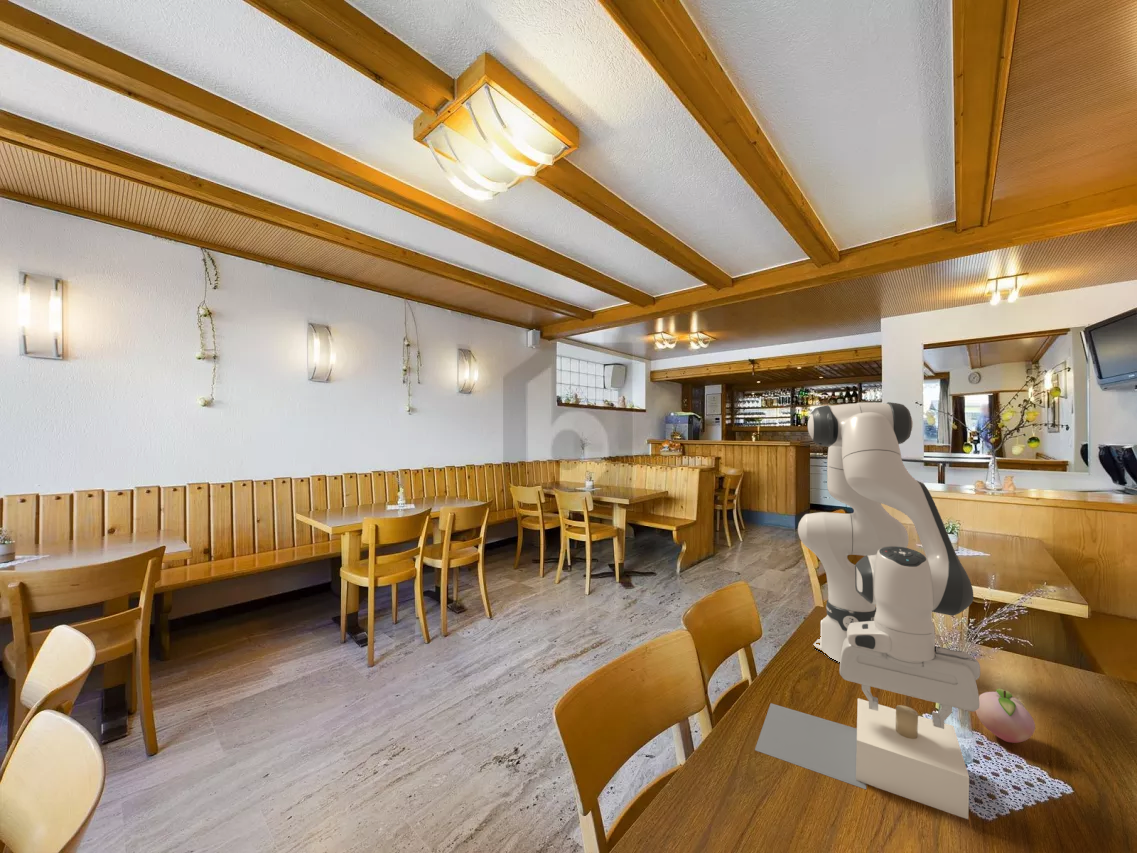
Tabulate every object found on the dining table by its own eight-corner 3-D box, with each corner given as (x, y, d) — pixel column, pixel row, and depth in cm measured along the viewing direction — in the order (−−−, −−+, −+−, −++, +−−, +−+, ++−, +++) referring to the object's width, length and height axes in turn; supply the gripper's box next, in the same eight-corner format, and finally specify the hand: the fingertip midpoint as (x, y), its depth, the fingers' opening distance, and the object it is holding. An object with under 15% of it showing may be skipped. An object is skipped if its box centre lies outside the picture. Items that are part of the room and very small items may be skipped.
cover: (856, 732, 92) (858, 678, 92) (952, 763, 84) (953, 704, 84) (855, 779, 80) (857, 717, 80) (968, 821, 72) (969, 752, 72)
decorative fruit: (969, 721, 96) (968, 674, 97) (1021, 733, 93) (1020, 684, 93) (984, 748, 88) (983, 696, 88) (1042, 763, 84) (1041, 708, 84)
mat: (770, 704, 103) (770, 703, 103) (865, 733, 93) (865, 731, 93) (754, 752, 88) (754, 749, 88) (866, 791, 78) (866, 789, 78)
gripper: (976, 647, 79) (977, 727, 79) (839, 621, 91) (840, 691, 90) (984, 663, 74) (985, 748, 74) (838, 633, 85) (839, 707, 85)
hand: (904, 716), depth 82 cm, fingers open, 8 cm apart
